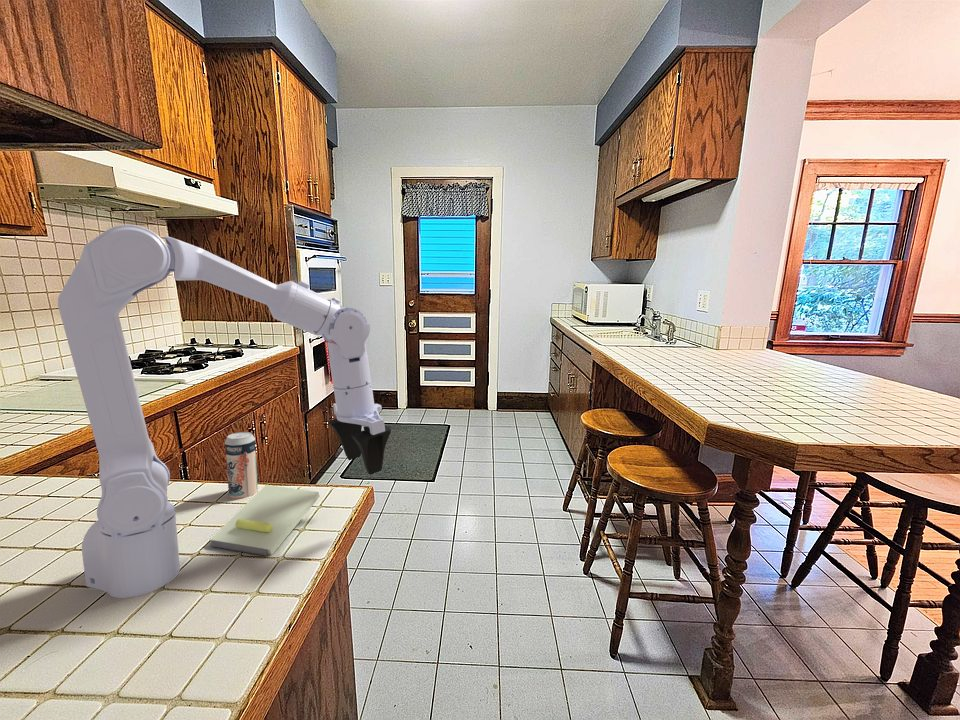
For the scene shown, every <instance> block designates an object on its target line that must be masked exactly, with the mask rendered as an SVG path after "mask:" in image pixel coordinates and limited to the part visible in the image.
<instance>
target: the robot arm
mask: <svg viewBox="0 0 960 720" xmlns="http://www.w3.org/2000/svg"><path fill="white" fill-rule="evenodd" d="M163 237H164V240H165V241H164V240H163V239H162V238H161V237H160V236H159V235H158V234H157V233H156V232H155V231H152V230H150V229H148V228H147V227H144V226H140V225H135V224H119V225H115V226H112V227H110V228H108V229H106V230H104V232H101V234H99V235H97V236H96V237H94V238H93V239H92V240H90V241H89V242H87V243H86V244H85V245H84V246H83V249H82V251H81V254H80V258H79V259H78V262H77V263H76V265H75V267H74V268H73V270H72V272H71V274H70V276H69V277H68V279H67V281H66V283H65V285H64V286H63V288H62V290H61V292H60V293H59V295H58V297H57V308H58V310H59V314H60V317H61V321H62V326H63V330H64V331H65V332H64V333H65V336H66V339H67V343H68V347H69V350H70V354H71V358H72V362H73V365H74V369H75V372H76V375H77V380H78V384H79V386H80V390H81V394H82V398H83V401H84V402H83V403H84V405H85V409H86V412H87V415H88V419H89V423H90V427H91V430H92V431H91V432H92V434H93V438H94V441H95V445H96V450H97V453H98V458H99V459H98V461H99V462H98V465H99V466H98V467H99V470H98V471H99V472H98V474H99V475H98V477H99V479H98V480H99V485H100V487H101V496H100V499H99V501H98V504H97V507H96V516H97V520H96V521H95V522H94V523H93V524H92V525H90V527H89V528H88V529H87V530H86V533H85V534H84V537H83V539H82V542H81V554H82V564H83V571H84V573H83V574H84V580H85V581H84V582H85V586H86V587H87V588H91V589H96V590H101V591H103V592H105V593H107V594H108V595H110V596H111V597H112V598H116V599H117V598H118V599H126V598H127V599H128V598H135V597H138V596H139V597H140V596H142V595H145V594H150V593H152V592H153V591H156V590H159V589H160V588H162V587H164V586H166V585H167V584H169V583H170V582H171V581H173V580H174V579H175V578H176V577H177V576H178V575H179V573H180V571H181V564H180V563H181V562H180V555H179V554H180V551H179V539H178V529H177V517H176V516H177V515H176V507H175V505H174V504H172V503H171V502H169V498H168V485H169V484H170V479H171V473H170V470H169V467H168V466H167V465H166V463H164V462H163V461H162V460H160V458H159V457H158V456H157V455H156V451H155V446H154V444H153V443H152V440H151V439H150V436H149V432H148V428H147V425H146V424H147V423H146V421H145V416H144V412H143V409H142V408H143V407H142V404H141V400H140V397H139V393H138V388H137V384H136V379H135V375H134V371H133V368H132V364H131V359H130V355H129V351H128V349H127V348H128V347H127V344H126V340H125V339H126V338H125V336H124V332H123V328H122V324H121V323H122V322H121V320H120V313H121V312H122V311H123V310H124V308H125V307H127V306H128V304H130V303H131V302H133V300H134V299H135V298H136V297H137V296H138V294H139V293H141V292H143V291H145V290H147V289H150V288H151V287H153V286H155V285H157V284H159V283H161V282H164V280H165V279H167V277H168V276H169V275H170V273H171V272H173V273H174V274H173V278H174V280H175V281H203V282H206V283H209V284H212V285H215V286H217V287H220V288H222V289H224V290H226V291H230V292H232V293H235V294H237V295H240V296H243V297H245V298H248V299H251V300H253V301H256V302H259V303H261V304H264V305H265V306H267V308H268V310H269V311H270V314H271V316H272V318H273V319H274V320H277V321H279V322H282V323H284V324H287V325H290V326H292V327H295V328H297V329H300V330H302V331H304V332H307V333H310V334H312V335H314V336H322V338H323V339H324V340H325V341H326V342H327V343H326V344H327V349H328V351H327V352H328V355H329V356H328V357H329V358H328V362H329V367H330V373H331V380H332V387H333V393H334V400H335V403H332V406H333V414H334V415H335V416H336V418H333V419H331V420H329V421H328V425H329V426H330V428H331V429H332V431H334V433H335V434H336V436H337V438H338V439H339V442H340V444H341V447H342V449H343V452H344V454H345V457H346V459H347V460H348V461H351V460H354V459H357V458H361V456H362V459H363V460H362V461H363V463H364V464H363V465H364V467H365V470H366V472H367V474H368V475H375V474H377V473H379V472H381V471H383V470H382V469H383V463H384V455H385V450H386V444H387V442H388V439H389V438H390V435H391V433H392V429H391V427H389V426H388V425H385V420H384V418H383V417H381V416H380V414H379V411H381V410H382V405H381V404H380V403H375V399H374V391H373V384H372V377H371V371H370V370H371V369H370V364H369V361H370V360H369V354H368V351H367V350H368V349H367V344H366V341H367V339H368V337H369V335H370V332H371V325H370V323H368V321H367V320H368V319H366V316H364V314H363V313H362V311H360V310H358V309H356V308H353V307H344V306H343V305H341V304H340V303H341V299H338V298H337V297H332V298H329V297H327V296H324V295H322V294H320V293H318V292H315V291H313V290H312V289H310V286H311V285H310V284H309V283H307V282H305V281H303V280H301V281H298V282H297V283H296V282H295V281H292V280H290V281H289V280H288V281H285V282H283V283H280V284H279V283H278V284H276V283H274V282H271V281H269V280H267V279H266V278H264V277H261V276H259V275H258V274H256V273H254V272H251V271H249V270H247V269H245V268H243V267H240V266H238V265H237V264H235V263H232V262H231V261H229V260H227V259H225V258H222V257H220V256H219V255H216V254H213V253H211V252H210V251H208V250H205V249H204V248H202V247H199V246H196V245H194V244H191V243H188V242H185V241H183V240H180V239H177V238H175V237H171V236H168V235H163ZM362 429H363V430H362Z"/></svg>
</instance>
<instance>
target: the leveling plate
mask: <svg viewBox="0 0 960 720" xmlns="http://www.w3.org/2000/svg"><path fill="white" fill-rule="evenodd" d="M320 496H321V495H320V492H319V491H315V490H308V489H307V490H306V489H300V488H292V487H286V486H285V487H284V486H276V485H275V486H274V485H268V484H266V485H264V486H263V487H262V488H261V489H260V490H258V492H257V493H255V494H254V495H253V496H252V498H251V499H250V500H249V501H248V502H247V503H245V504H244V505H243V506H242V507H241V508H240V509H239V510H238V511H237V512H236V513H235V515H233V516H232V517H231V518H230V519H229V520H228V521H227V522H226V523H225V524H224V525H222V527H221V528H220V529H218V530H217V531H216V532H215V534H214V535H212V537H211V538H210V539H209V542H210V546H211V547H213V548H219V549H224V550H225V549H226V550H231V551H237V552H242V553H248V554H254V555H260V556H267V557H268V556H272V555H273V554H274V553H275V551H276V550H278V548H279V547H280V546H281V544H282V543H283V542H284V541H285V539H286V538H287V537H288V536H289V534H291V532H292V531H293V530H294V528H296V526H297V525H298V524H299V523H300V522H301V520H302V519H303V518H304V516H306V514H307V513H308V512H309V510H310V509H311V508H312V507H313V506H314V505H315V503H316V502H317V501H318V499H320V498H321V497H320Z"/></svg>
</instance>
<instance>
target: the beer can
mask: <svg viewBox="0 0 960 720" xmlns="http://www.w3.org/2000/svg"><path fill="white" fill-rule="evenodd" d="M224 445H225V457H226V471H227V472H226V473H227V475H226V476H227V486H228V487H227V488H228V498H230V499H233V500H239V499H240V500H241V499H247V498H249V497H254V496H255V495H256V494H257V493H258V492H259V490H258V489H259V488H258V474H257V473H258V472H257V456H256V454H257V453H256V438H255V436H254V435H253V434H252V432H248V431H239V432H233V433H231V434H229V435H227V437H226V439H225V441H224Z"/></svg>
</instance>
